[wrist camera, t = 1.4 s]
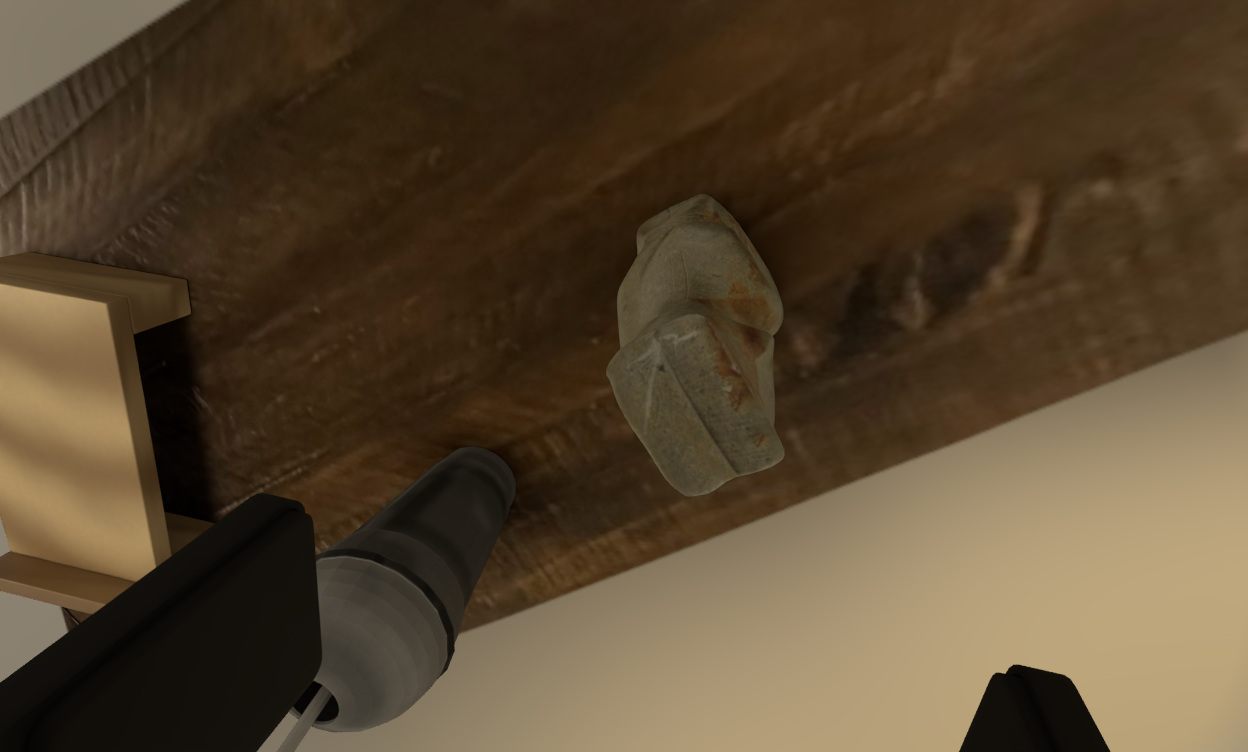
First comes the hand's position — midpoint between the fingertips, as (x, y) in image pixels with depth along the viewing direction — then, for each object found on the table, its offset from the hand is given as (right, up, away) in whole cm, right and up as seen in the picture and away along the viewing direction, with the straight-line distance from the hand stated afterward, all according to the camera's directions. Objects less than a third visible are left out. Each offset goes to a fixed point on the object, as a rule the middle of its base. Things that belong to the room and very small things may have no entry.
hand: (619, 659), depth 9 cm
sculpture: (+4, +9, +22) cm, 24 cm away
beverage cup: (-8, -2, +29) cm, 30 cm away
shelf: (-30, +2, +32) cm, 43 cm away
